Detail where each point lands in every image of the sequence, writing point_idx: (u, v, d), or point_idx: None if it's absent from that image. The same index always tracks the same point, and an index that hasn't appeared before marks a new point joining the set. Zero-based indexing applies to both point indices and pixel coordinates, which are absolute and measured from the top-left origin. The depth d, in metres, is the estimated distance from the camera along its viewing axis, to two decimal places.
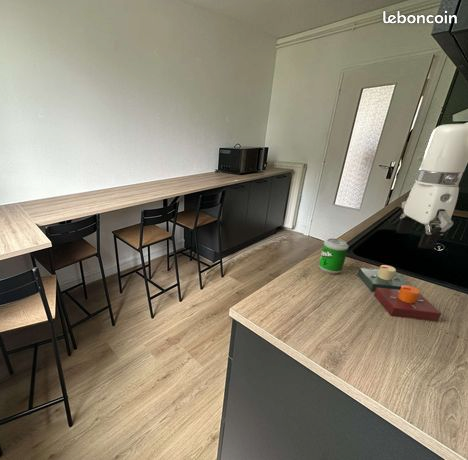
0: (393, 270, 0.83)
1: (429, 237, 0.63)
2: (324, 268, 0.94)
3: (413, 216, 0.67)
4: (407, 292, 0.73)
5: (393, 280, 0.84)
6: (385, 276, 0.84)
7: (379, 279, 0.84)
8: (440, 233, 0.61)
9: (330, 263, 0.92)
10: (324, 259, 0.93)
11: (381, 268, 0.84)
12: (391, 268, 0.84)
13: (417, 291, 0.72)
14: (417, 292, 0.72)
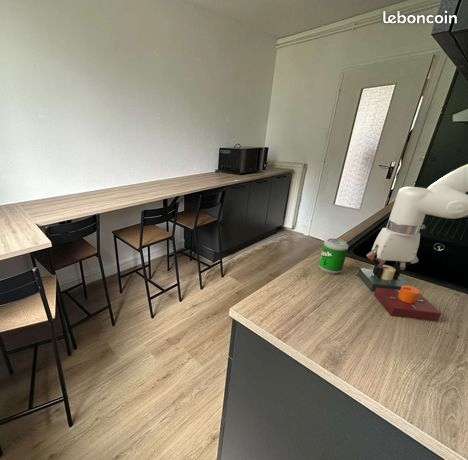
0: (393, 270, 0.83)
1: (400, 270, 0.83)
2: (324, 268, 0.94)
3: (396, 259, 0.80)
4: (407, 292, 0.73)
5: (393, 280, 0.84)
6: (385, 276, 0.84)
7: (379, 279, 0.84)
8: None
9: (330, 263, 0.92)
10: (324, 259, 0.93)
11: None
12: (391, 268, 0.84)
13: (417, 291, 0.72)
14: (417, 292, 0.72)
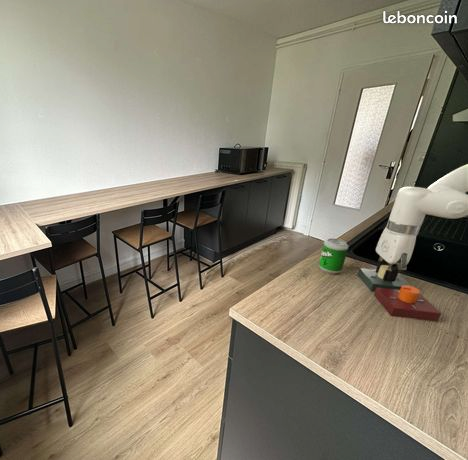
0: None
1: None
2: (324, 268, 0.94)
3: None
4: (407, 292, 0.73)
5: None
6: None
7: (379, 279, 0.84)
8: None
9: (330, 263, 0.92)
10: (324, 259, 0.93)
11: None
12: (388, 266, 0.85)
13: (417, 291, 0.72)
14: (417, 292, 0.72)
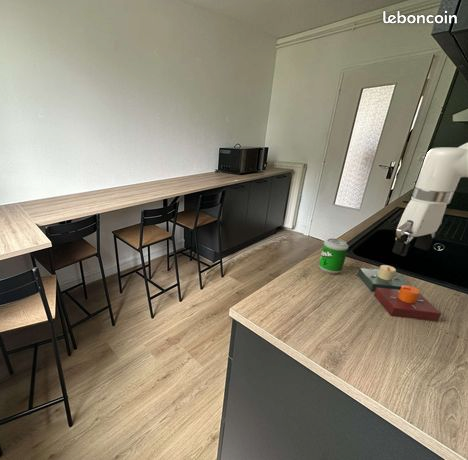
0: (392, 267, 0.84)
1: None
2: (324, 268, 0.94)
3: (427, 232, 0.70)
4: (407, 292, 0.73)
5: (393, 280, 0.84)
6: (393, 276, 0.83)
7: (379, 279, 0.84)
8: None
9: (330, 263, 0.92)
10: (324, 259, 0.93)
11: (389, 271, 0.83)
12: (388, 266, 0.85)
13: (417, 291, 0.72)
14: (417, 292, 0.72)
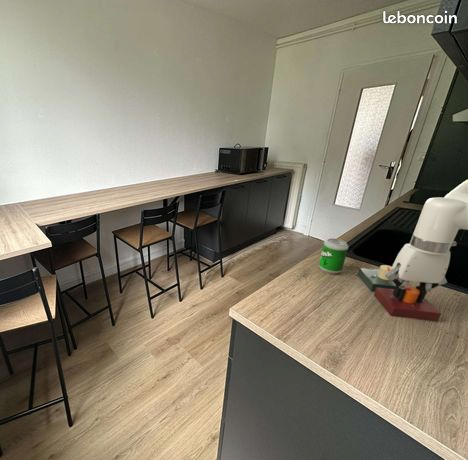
0: None
1: (425, 292, 0.72)
2: (324, 268, 0.94)
3: (422, 279, 0.70)
4: (407, 292, 0.73)
5: None
6: None
7: (379, 279, 0.84)
8: None
9: (330, 263, 0.92)
10: (324, 259, 0.93)
11: None
12: (388, 266, 0.85)
13: (417, 291, 0.72)
14: (417, 292, 0.72)
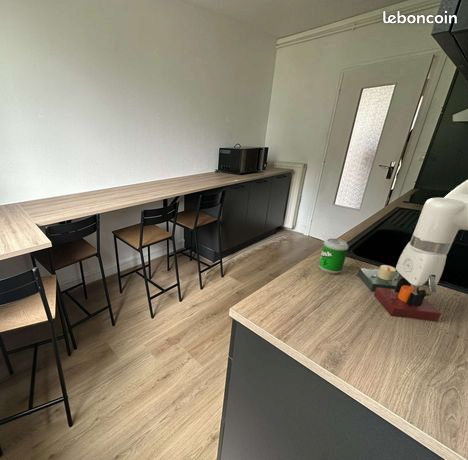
0: (392, 267, 0.84)
1: None
2: (324, 268, 0.94)
3: None
4: None
5: (393, 280, 0.84)
6: (393, 276, 0.83)
7: (379, 279, 0.84)
8: None
9: (330, 263, 0.92)
10: (324, 259, 0.93)
11: (389, 271, 0.83)
12: (388, 266, 0.85)
13: (413, 287, 0.74)
14: None
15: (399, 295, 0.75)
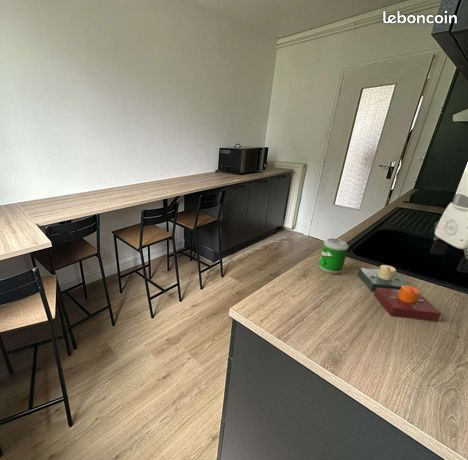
0: (392, 267, 0.84)
1: None
2: (324, 268, 0.94)
3: None
4: (418, 294, 0.72)
5: (393, 280, 0.84)
6: (393, 276, 0.83)
7: (379, 279, 0.84)
8: None
9: (330, 263, 0.92)
10: (324, 259, 0.93)
11: (389, 271, 0.83)
12: (388, 266, 0.85)
13: (413, 287, 0.74)
14: (415, 288, 0.73)
15: (399, 295, 0.75)
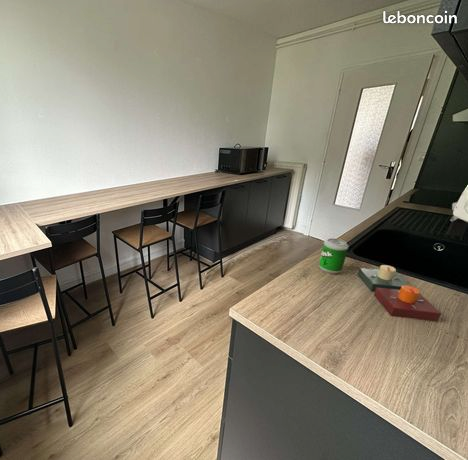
0: (392, 267, 0.84)
1: None
2: (324, 268, 0.94)
3: None
4: (418, 294, 0.72)
5: (393, 280, 0.84)
6: (393, 276, 0.83)
7: (379, 279, 0.84)
8: None
9: (330, 263, 0.92)
10: (324, 259, 0.93)
11: (389, 271, 0.83)
12: (388, 266, 0.85)
13: (413, 287, 0.74)
14: (415, 288, 0.73)
15: (399, 295, 0.75)
